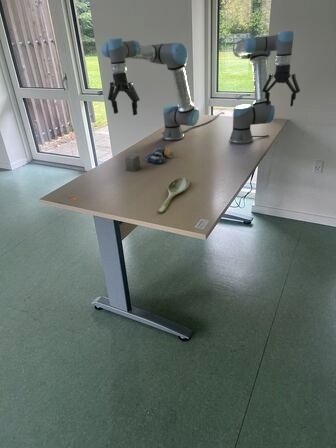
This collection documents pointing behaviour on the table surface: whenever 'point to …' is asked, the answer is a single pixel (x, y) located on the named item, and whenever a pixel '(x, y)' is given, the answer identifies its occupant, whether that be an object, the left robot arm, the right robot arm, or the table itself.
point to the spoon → (175, 190)
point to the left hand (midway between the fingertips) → (125, 114)
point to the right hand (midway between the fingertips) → (279, 105)
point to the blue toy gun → (159, 155)
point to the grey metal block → (132, 162)
